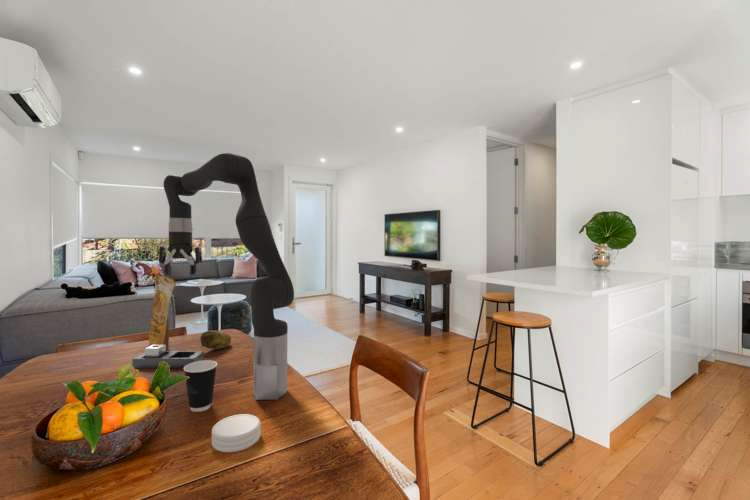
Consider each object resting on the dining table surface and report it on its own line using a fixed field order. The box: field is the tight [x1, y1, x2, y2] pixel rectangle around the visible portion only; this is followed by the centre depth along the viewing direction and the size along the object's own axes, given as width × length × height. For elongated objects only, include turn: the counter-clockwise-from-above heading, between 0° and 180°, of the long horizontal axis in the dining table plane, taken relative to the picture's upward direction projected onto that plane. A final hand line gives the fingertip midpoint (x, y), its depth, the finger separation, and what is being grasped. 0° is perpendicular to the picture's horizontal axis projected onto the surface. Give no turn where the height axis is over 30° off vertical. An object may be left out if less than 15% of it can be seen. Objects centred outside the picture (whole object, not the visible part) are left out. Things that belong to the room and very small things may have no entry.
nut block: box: [144, 345, 167, 358], centre depth 121 cm, size 4×4×6 cm
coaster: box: [211, 413, 262, 453], centre depth 77 cm, size 10×10×4 cm
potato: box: [200, 329, 232, 350], centre depth 138 cm, size 8×13×8 cm, turn 139°
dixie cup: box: [182, 359, 218, 412], centre depth 91 cm, size 8×8×11 cm
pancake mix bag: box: [148, 274, 177, 350], centre depth 141 cm, size 7×19×28 cm, turn 44°
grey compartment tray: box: [131, 350, 205, 369], centre depth 121 cm, size 8×20×3 cm, turn 94°
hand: (180, 275), depth 128 cm, fingers open, 8 cm apart
